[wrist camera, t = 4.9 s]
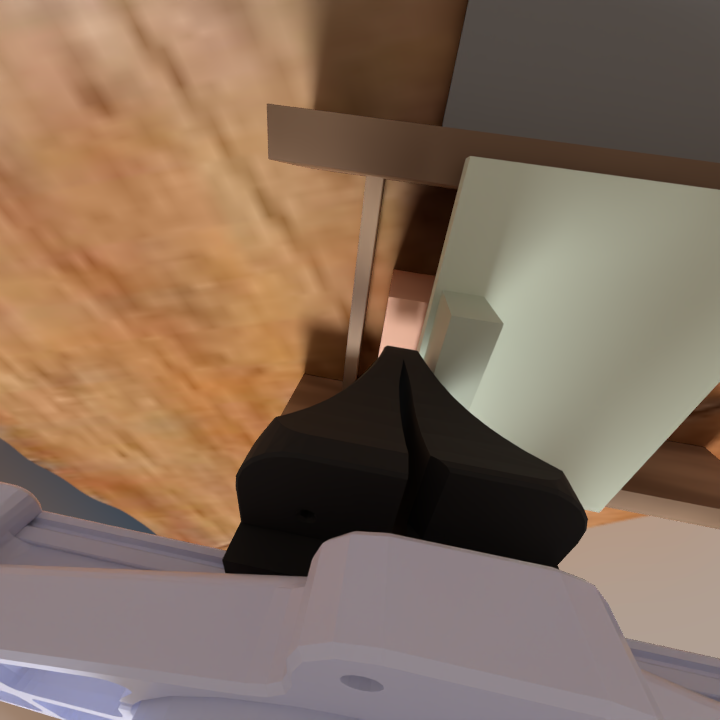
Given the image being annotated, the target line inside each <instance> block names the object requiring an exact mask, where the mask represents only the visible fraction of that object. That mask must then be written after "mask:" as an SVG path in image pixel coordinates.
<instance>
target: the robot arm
mask: <svg viewBox="0 0 720 720" xmlns="http://www.w3.org/2000/svg"><path fill="white" fill-rule="evenodd" d="M236 491H237V498H238V504H239V511H240V517H241V523H240V525H239V527H238V529H237V531H236V533H235V535H234V537H233V539H232V541H231V543H230V545H229V547H228V549H227V551H225V550H221V549H216V548H211V547H207V546H202V545H198V544H193V543H189V542H184V541H179V540H175V539H170V538H166V537H161V536H157V535H152V534H147V533H143V532H138V531H133V530H129V529H125V528H120V527H115V526H110V525H106V524H102V523H97V522H93V521H88V520H83V519H79V518H74V517H70V516H65V515H61V514H56V513H51V512H47V511H42V507H41V505H40V503H39V501H38V500H37V499H36V497H35V496H34V495H33V494H32V493H31V492H29V491H28V490H26V489H24V488H22V487H20V486H17V485H13V484H9V483H4V482H0V701H3V702H7V703H9V704H13V705H16V706H19V707H23V708H26V709H29V710H33V711H36V712H39V713H43V714H46V715H49V716H52V717H55V718H59V719H62V720H720V659H719V658H714V657H710V656H705V655H701V654H696V653H691V652H687V651H683V650H677V649H673V648H669V647H664V646H660V645H655V644H651V643H646V642H641V641H637V640H632V639H628V638H625V637H624V635H623V633H622V631H621V629H620V627H619V625H618V623H617V621H616V619H615V617H614V615H613V613H612V611H611V608H610V606H609V604H608V603H607V602H606V600H605V599H604V597H603V596H602V595H601V594H600V592H599V591H598V590H597V588H596V587H595V585H593V584H591V583H589V582H588V581H586V580H584V579H582V578H579V577H577V576H574V575H572V574H569V573H566V572H564V571H561V570H559V568H558V566H557V565H558V564H559V563H560V562H561V561H562V560H563V559H564V557H565V556H566V555H567V554H568V553H569V552H570V551H571V550H572V549H573V548H574V547H575V546H576V545H577V544H578V542H579V540H580V539H581V537H582V536H583V534H584V533H585V531H586V529H587V521H588V518H587V516H586V513H585V510H584V508H583V506H582V504H581V503H580V501H579V499H578V497H577V495H576V494H575V492H574V490H573V488H572V486H571V485H570V483H569V481H568V479H567V477H566V476H565V474H564V473H563V471H562V470H560V469H558V468H556V467H554V466H552V465H550V464H549V463H547V462H545V461H543V460H541V459H539V458H538V457H536V456H534V455H532V454H530V453H528V452H526V451H525V450H523V449H521V448H520V447H518V446H517V445H515V444H513V443H512V442H510V441H509V440H507V439H505V438H504V437H502V436H501V435H499V434H498V433H496V432H495V431H494V430H492V429H491V428H489V427H488V426H487V425H485V424H484V423H483V422H482V421H480V420H479V419H478V418H476V417H475V416H474V415H473V414H471V413H470V412H469V411H468V410H467V409H466V408H465V407H464V406H462V405H461V404H460V403H459V402H458V401H457V400H456V399H455V398H454V397H453V396H452V395H451V394H450V393H449V392H448V390H447V389H446V388H445V387H444V386H443V385H442V384H441V382H440V381H439V380H438V379H437V378H436V376H435V375H434V374H433V372H432V371H431V370H430V368H429V367H428V365H427V364H426V362H425V361H424V359H423V358H422V356H421V355H420V353H419V352H418V351H417V350H411V349H405V348H400V347H394V346H388V345H387V346H386V347H384V349H383V351H382V353H381V354H380V356H379V357H378V358H377V360H376V361H375V362H374V363H373V364H372V366H371V367H370V368H369V369H368V370H367V371H366V372H365V373H364V374H363V375H362V376H361V377H359V378H358V379H357V380H356V381H355V382H353V383H352V384H351V385H349V386H348V387H347V388H345V389H344V390H342V391H341V392H339V393H337V394H336V395H334V396H333V397H331V398H329V399H327V400H325V401H322V402H320V403H318V404H316V405H313V406H311V407H308V408H305V409H302V410H299V411H296V412H292V413H289V414H286V415H282V416H278V417H276V418H274V420H273V421H272V422H271V423H270V424H269V426H268V427H267V428H266V429H265V430H264V432H263V433H262V434H261V435H260V437H259V438H258V439H257V440H256V442H255V443H254V445H253V446H252V448H251V450H250V451H249V453H248V455H247V457H246V458H245V460H244V462H243V464H242V465H241V467H240V469H239V471H238V473H237V475H236Z"/></svg>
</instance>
